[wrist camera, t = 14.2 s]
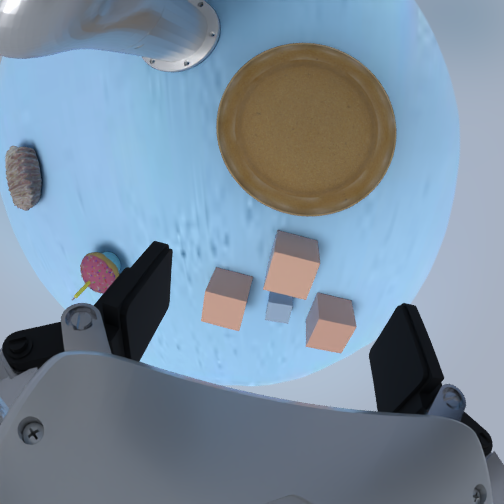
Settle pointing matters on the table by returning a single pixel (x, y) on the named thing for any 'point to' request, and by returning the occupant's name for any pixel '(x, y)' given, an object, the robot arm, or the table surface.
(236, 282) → the peach toy brick
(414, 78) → the table surface
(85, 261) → the cupcake
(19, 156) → the seashell
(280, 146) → the plant saucer
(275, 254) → the toy block
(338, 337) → the salmon orange block
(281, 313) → the cube
